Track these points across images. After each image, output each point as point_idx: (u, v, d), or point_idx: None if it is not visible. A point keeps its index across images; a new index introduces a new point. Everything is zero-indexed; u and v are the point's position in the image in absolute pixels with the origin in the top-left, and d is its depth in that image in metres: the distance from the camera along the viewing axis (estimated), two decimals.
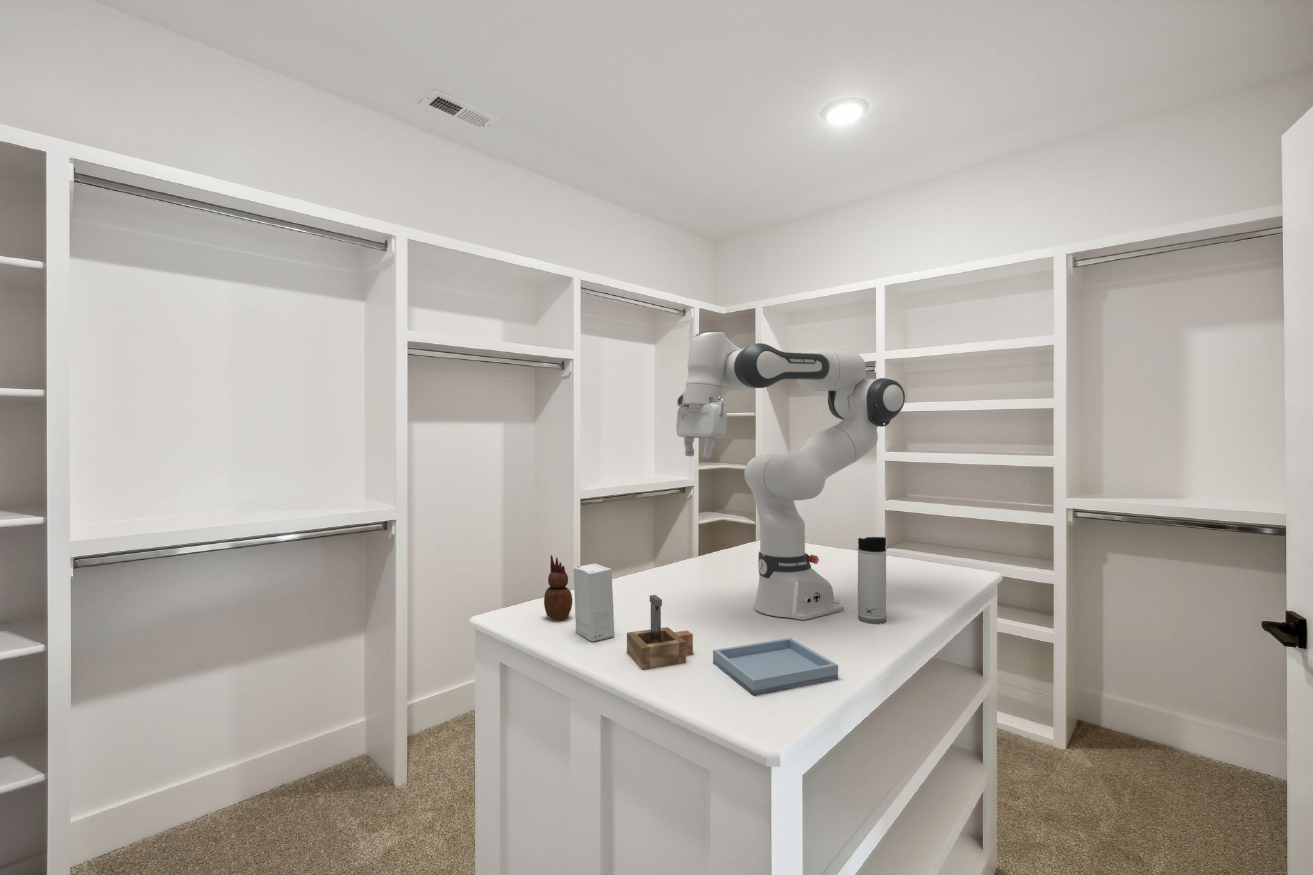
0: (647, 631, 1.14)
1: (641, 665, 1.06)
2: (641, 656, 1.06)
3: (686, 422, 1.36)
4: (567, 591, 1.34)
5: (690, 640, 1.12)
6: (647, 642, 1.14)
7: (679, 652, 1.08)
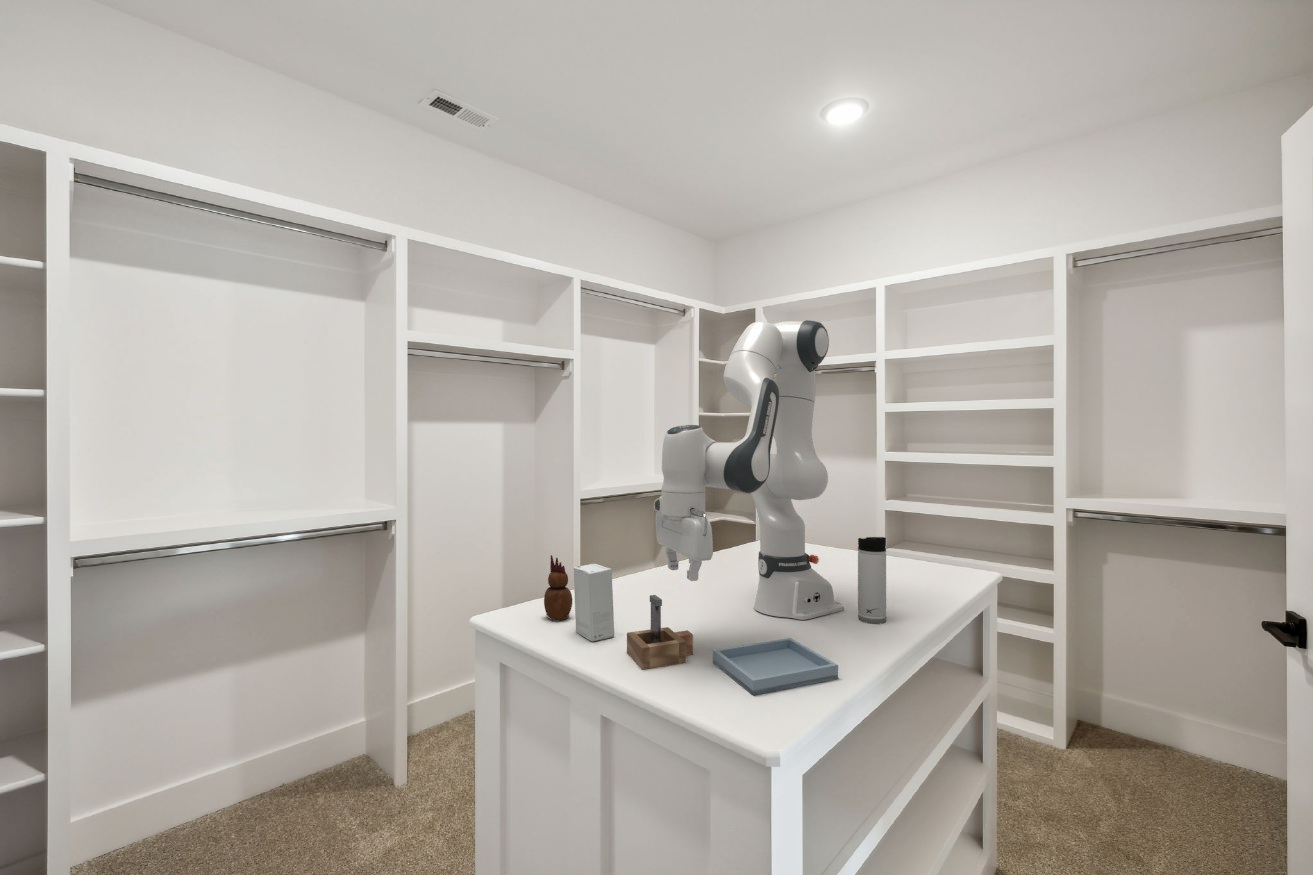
0: (647, 631, 1.14)
1: (641, 665, 1.06)
2: (641, 656, 1.06)
3: (666, 532, 1.16)
4: (567, 591, 1.34)
5: (690, 640, 1.12)
6: (647, 642, 1.14)
7: (679, 652, 1.08)
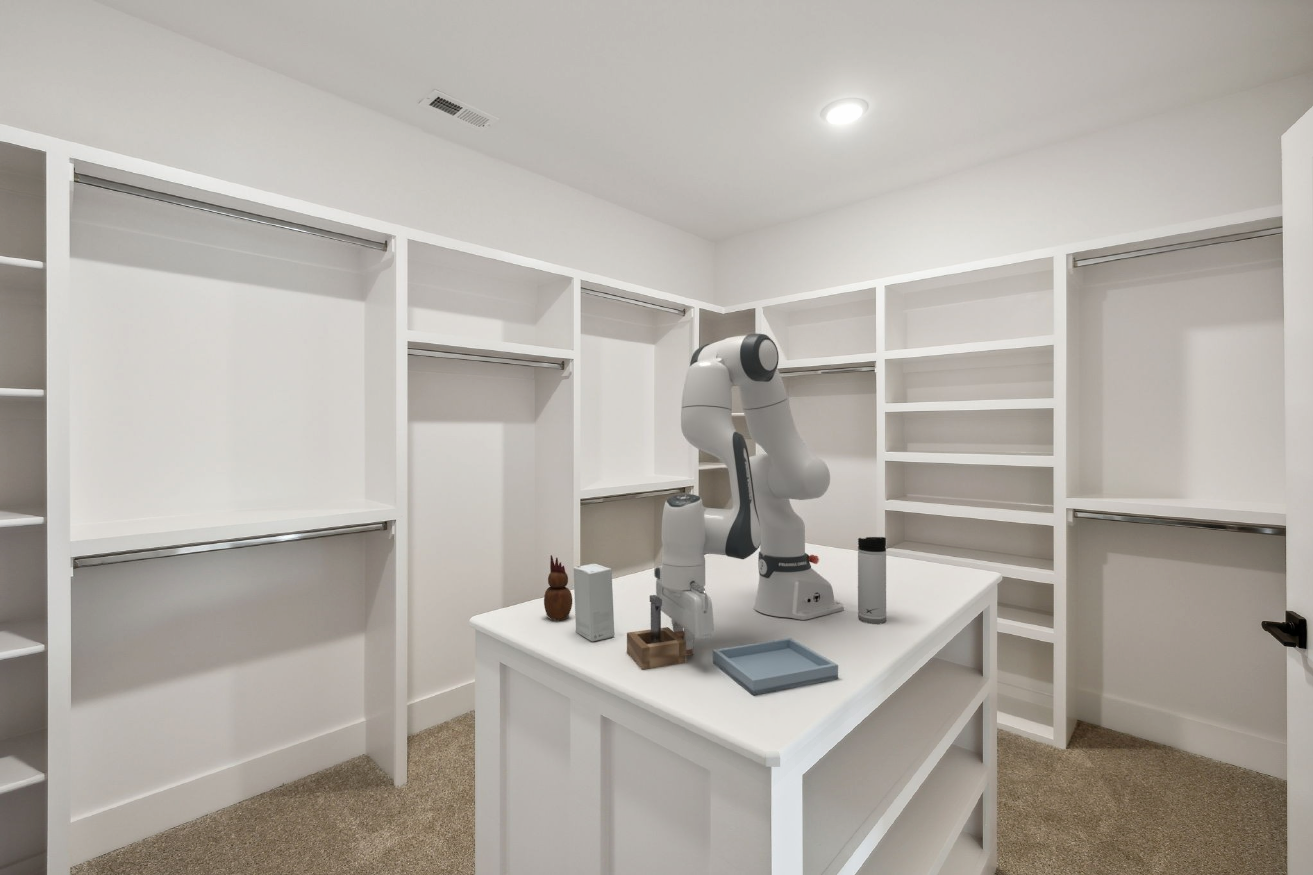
0: (647, 631, 1.14)
1: (641, 665, 1.06)
2: (641, 655, 1.06)
3: (667, 600, 1.17)
4: (567, 591, 1.34)
5: None
6: (647, 642, 1.14)
7: (679, 652, 1.08)
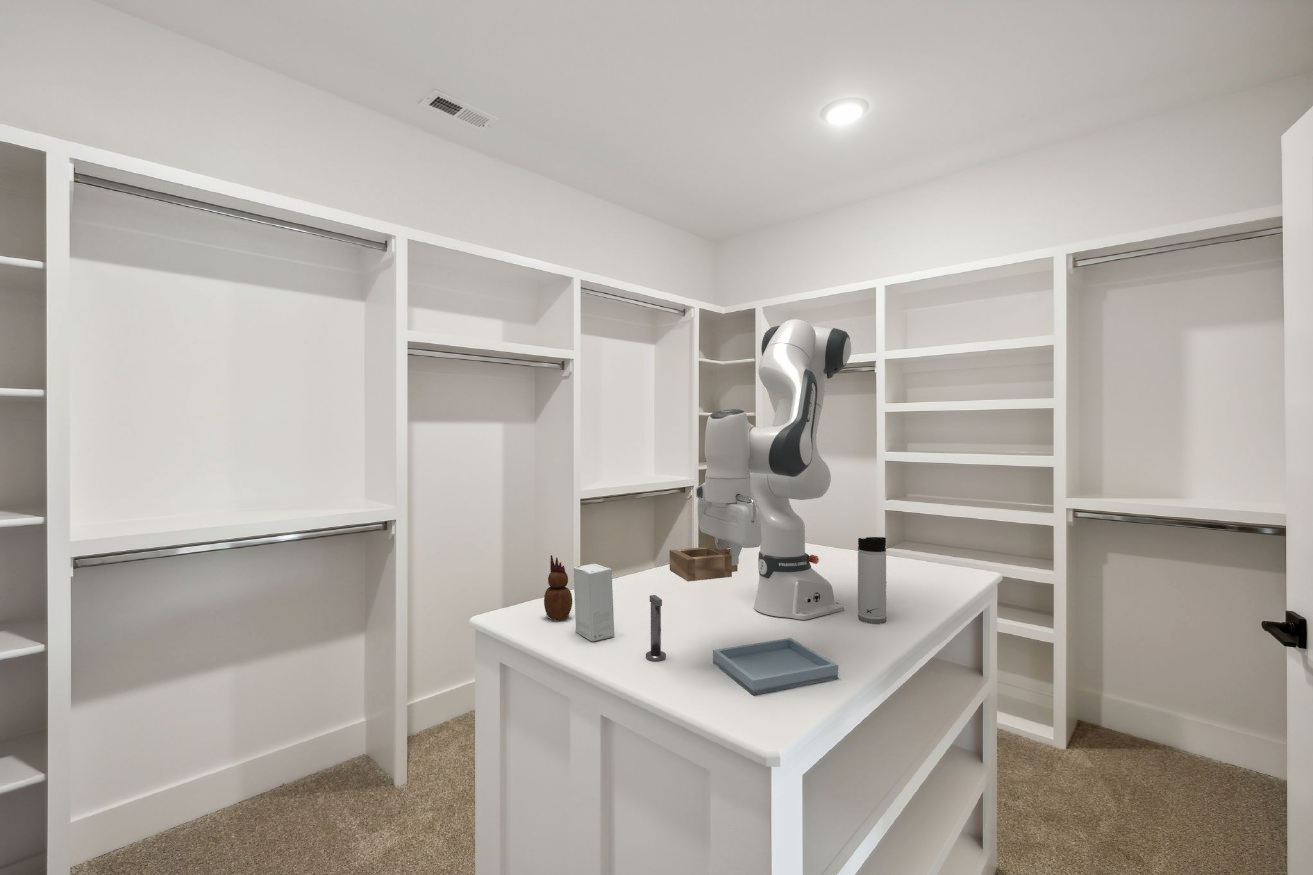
0: (690, 549, 1.12)
1: (686, 578, 1.03)
2: (687, 567, 1.03)
3: (710, 519, 1.14)
4: (567, 591, 1.34)
5: None
6: None
7: (725, 565, 1.05)
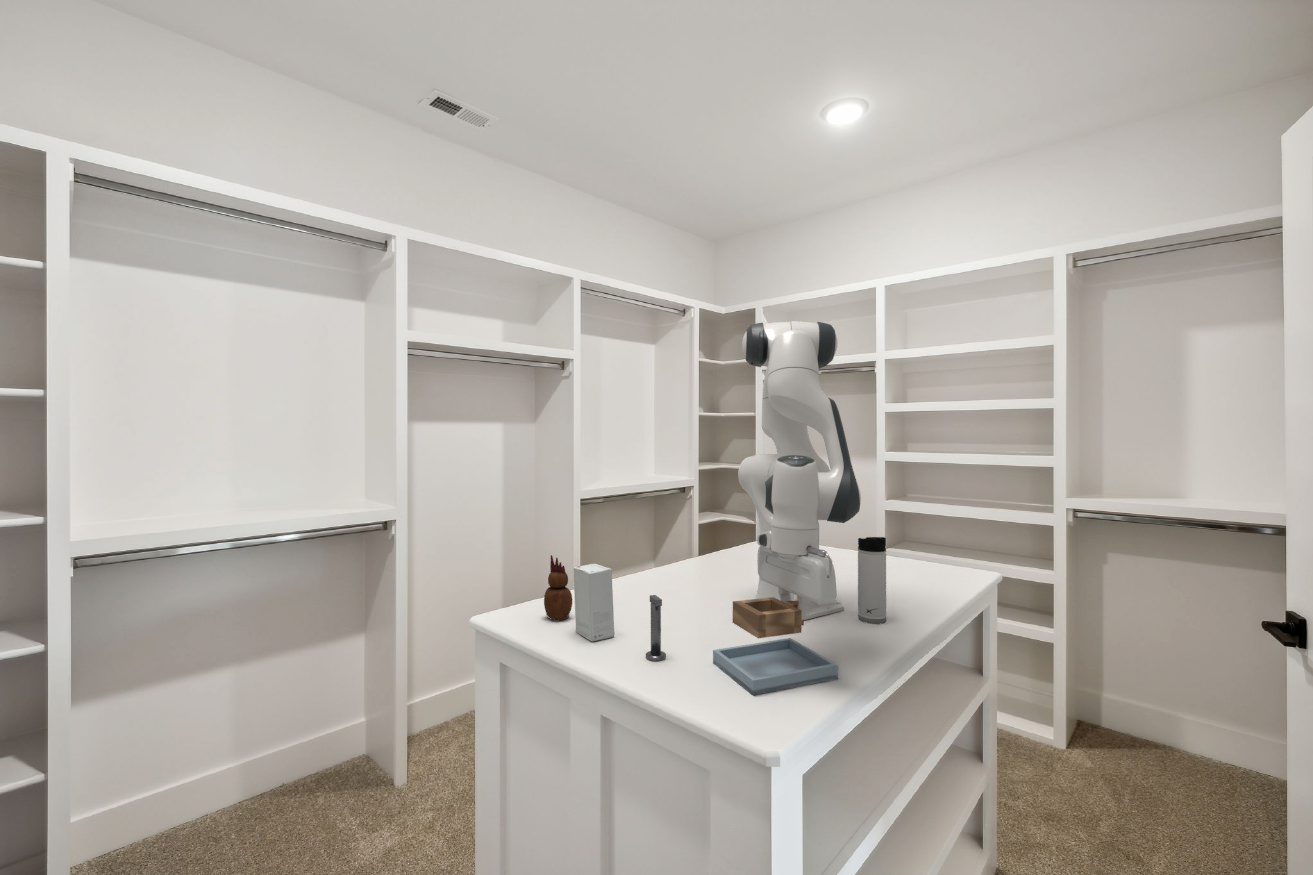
0: (753, 600, 1.07)
1: (756, 634, 0.98)
2: (757, 623, 0.98)
3: (773, 568, 1.09)
4: (567, 591, 1.34)
5: None
6: None
7: (795, 621, 1.01)
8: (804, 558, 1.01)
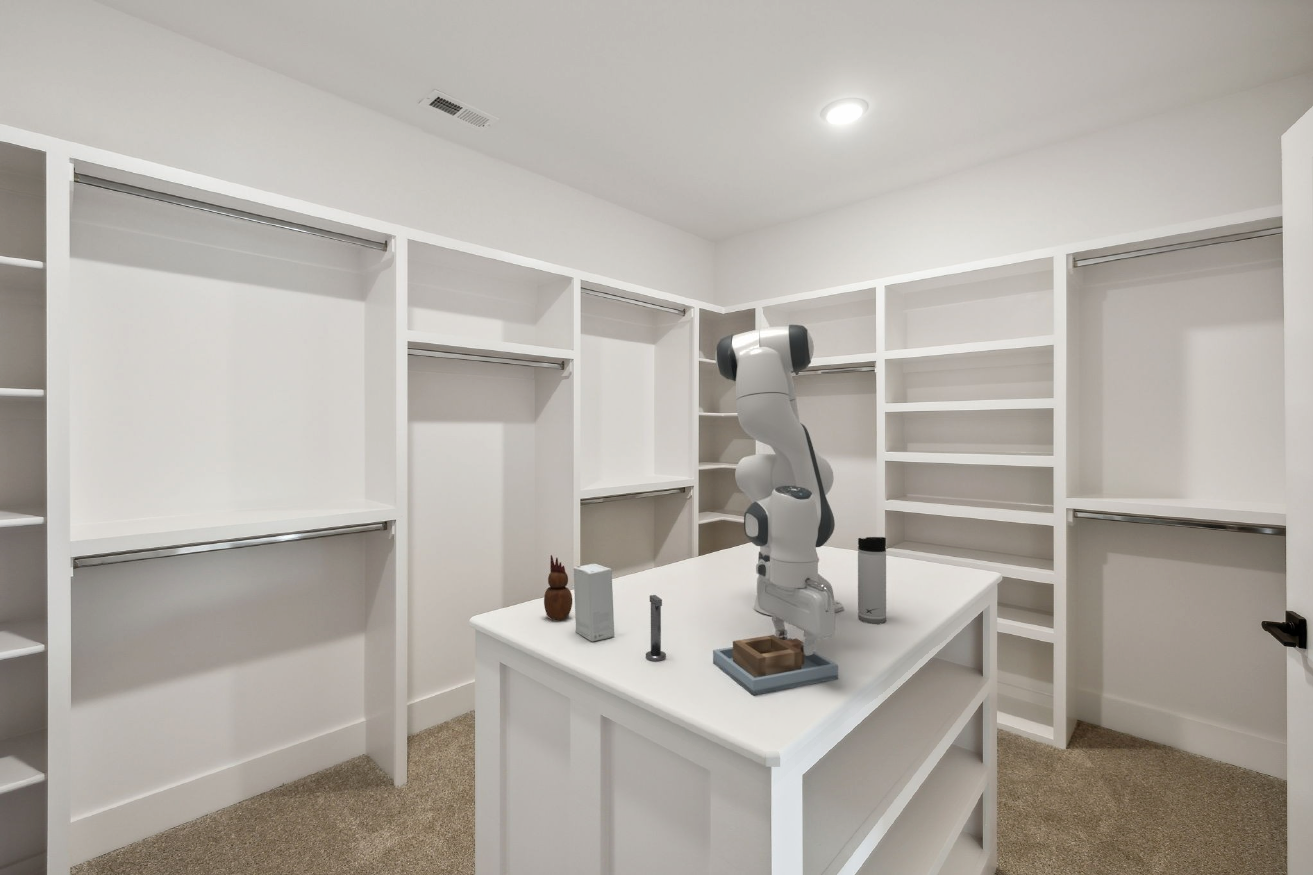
0: (753, 639, 1.07)
1: None
2: (757, 666, 0.99)
3: (773, 599, 1.10)
4: (567, 591, 1.34)
5: None
6: None
7: (795, 662, 1.01)
8: (803, 591, 1.01)
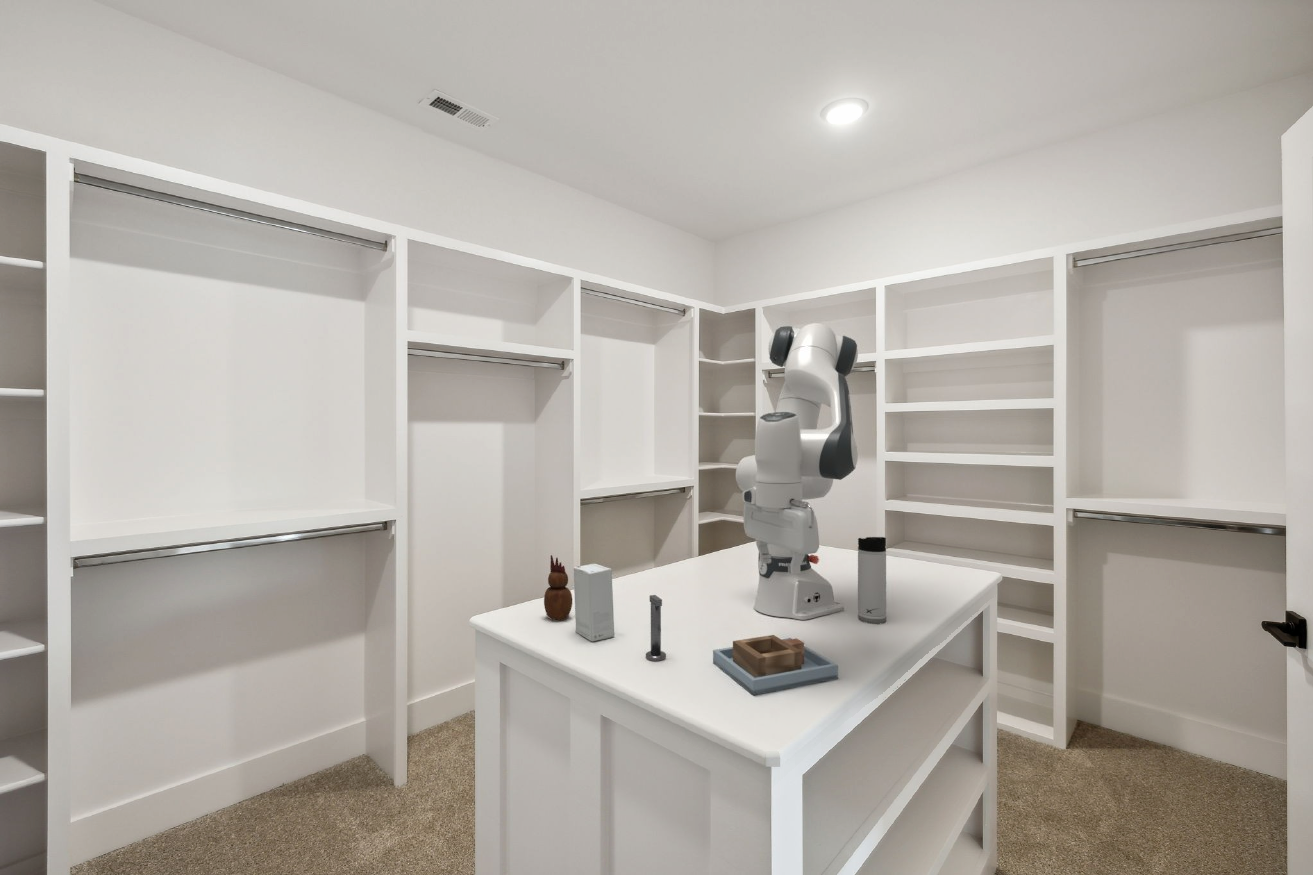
0: (753, 639, 1.07)
1: None
2: (757, 666, 0.99)
3: (759, 524, 1.12)
4: (567, 591, 1.34)
5: (801, 649, 1.06)
6: None
7: (795, 662, 1.01)
8: (787, 511, 1.03)
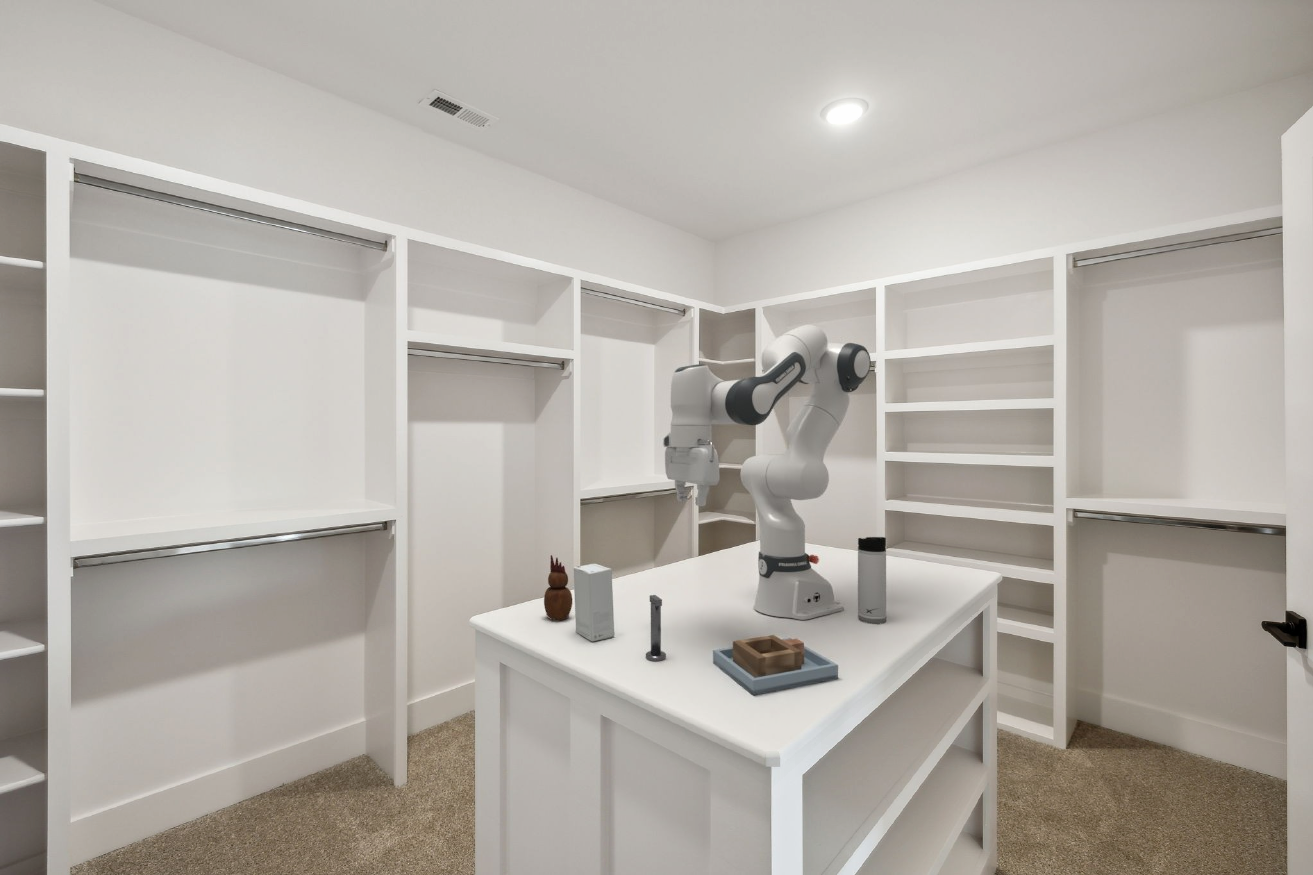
0: (753, 639, 1.07)
1: None
2: (757, 666, 0.99)
3: (675, 465, 1.25)
4: (567, 591, 1.34)
5: (801, 649, 1.06)
6: None
7: (795, 662, 1.01)
8: (694, 449, 1.16)
